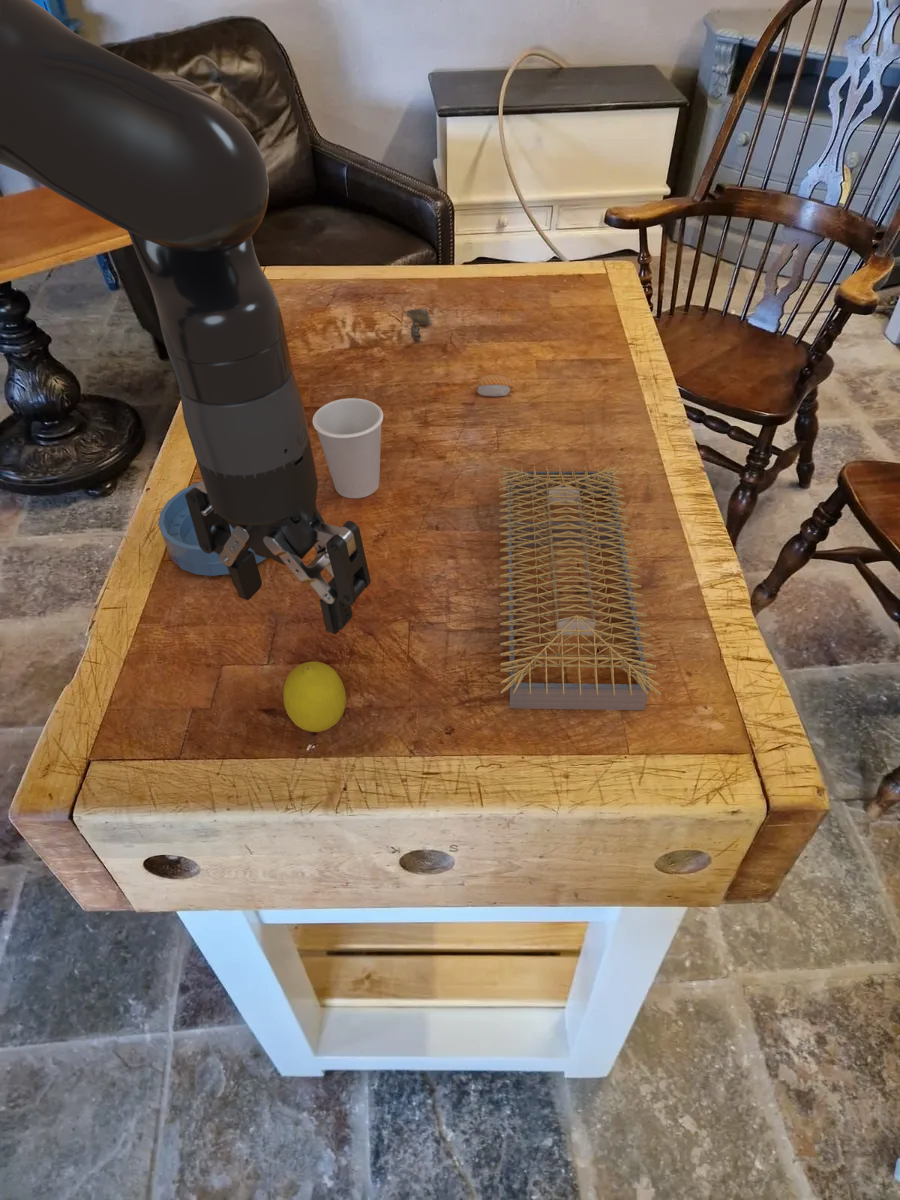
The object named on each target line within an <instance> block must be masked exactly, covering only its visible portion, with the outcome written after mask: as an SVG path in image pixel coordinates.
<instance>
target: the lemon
mask: <svg viewBox="0 0 900 1200" xmlns="http://www.w3.org/2000/svg"><path fill="white" fill-rule="evenodd" d="M282 696H283V697H282V698H283V699H282V700H283V706H284V709H285V711H286V714H287V715H288V716H287V717H289V719H290V720H291V721H292V723H294V725H295V726H296V727H298V728H300V729H301V730H304V731H306V732H311V733H320V732H324V731H327V730H329V729H331V728H332V727H334V726H335V725H336V724H337V723H338V722H339V721H340V720H341V718H342V717H343V715H344V712H345V709H346V705H347V694H346V689H345V686H344V683H343V681H342V679H341V677H340V676H339V674H338V673H337V672H336V670H335V669H334V668H332V667H331V666H330V665H328V664H327V663H324V662H323V661H322V662H321V661H314V660H313V661H306V662H302V663H300V664H298V665H297V666H296V667H294V668H293V669H291V671H290V672H289V673H288V675H287V677H286V679H285V682H284V686H283V690H282Z"/></svg>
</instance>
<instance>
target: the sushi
mask: <svg viewBox="0 0 900 1200" xmlns="http://www.w3.org/2000/svg"><path fill="white" fill-rule="evenodd" d="M515 387H516V385H515V383H514V381H513V380H512V379H511V378H509V377H508V376H505V375H503V374H495V373H493V374H492V373H491V374H484V375H483V376H479V378H478V379H477V381H476V382H475V383H474V384H472V385H470V387H469V388H470V390H473V389H476V392H477V394H478V395H480V396H482V397H483V396H484V397H506V396H508V395H509V394H510V393H511V388H512V389H513V388H515Z"/></svg>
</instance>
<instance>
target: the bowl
mask: <svg viewBox="0 0 900 1200" xmlns="http://www.w3.org/2000/svg"><path fill="white" fill-rule="evenodd" d="M200 482H201V481H199V482H196V483H195V482H194V483H193V484H191V485H189V486H187V487H185V488H183V489H181V490H179V491H178V492H177V493H176V494H174V496H171V498H170V499H168V501H167V502H166V503H165V505H164V506H163V507H162V509H161V510H160V513H159V517H158V522H157V523H158V524H157V525H158V527H159V530H160V533H161V536H162V538H163V541H164V544H165V547H166V549H167V552H168V555H169V557H170V560H171V561H172V562H173V563H174V564H175V565H177V566H178V568H180V569H181V570H184V571H186V572H188V573H191V574H193V575H199V576H209V577H216V576H225V575H226V576H227V575H230V573H229V570H228V567H227V566H226V565H224V564H223V563H222V562H221V561H220V559H219V554H217V553H216V552H214V551H213V552H212V553H210V554H208V553H206V552H204V551H203V550H202V549H201V548H200V546H199V543H198V539H197V536H196V532H195V529H194V525H193V522H192V518H191V515H190V511H189V508H188V504H187V501H186V498H185V495H186V493H188V492H189V491H190V490H191V489H192V488H194V487H195V486H196V485H197V484H198V483H200ZM229 526H230V530H231V535H232V532H233V530H234V529H233V528H232V527H231V525H230V524H229ZM214 528H215V527H214V525H213V526H212V528H211V531H212V530H213V529H214ZM248 550H249V551H252V552H254V551H253V550H252V549H251V548H249V549H248ZM254 556H255V559H256V563H257V565H258V564H260V563H261V562H263V561H265V560H266V559H267V558H266V557H261V556H258V555H256V554H255V552H254Z"/></svg>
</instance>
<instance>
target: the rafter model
mask: <svg viewBox="0 0 900 1200" xmlns="http://www.w3.org/2000/svg"><path fill="white" fill-rule="evenodd" d="M499 468H500V469H501V470H500V471H499V474H501V475H505V476H504V477H501V478H499V485H506V486H503V487H500V488H499V491H505V492H506V493H503V494H500V495H499V498H506V500H503V501H500V502H499V505H506V507H505V508H501V509H499V512H500V513H501V512H502V513H506V515H504V516H500V517H499V520H506V522H505V523H503V524H499V528H506V531H502V532H499V535H500V536H506V539H502V540H499V543H500V544H506V547H504V548H500V549H499V552H506V556H502V557H500V558H499V561H506V562H507V563H506V564H504V565H501V566H499V569H500V570H501V569H502V570H506V569H507V573H505V574H500V575H499V578H507V582H503V583H501V584H499V588H500V587H501V588H503V587H505V588H506V587H507V591H506V592H502V593H500V594H499V596H500V597H507V601H504V602H500V604H499V606H507V610H506V611H503V612H500V613H499V614H500V616H507V621H503V622H500V623H499V625H500V626H507V627H508V630H507V631H504V632H500V633H499V636H508V637H507V638H508V641H504V642H500V646H508V651H505V652H501V653H500V656H502V657H503V656H505V657H507V656H508V661H506V662H501V663H500V667H505V668H501V669H500V672H508V676H507V678H505V679H503V680H502V681H500V684H501V685H502V684H505V683H508V684H507V685H506V686H505V687H504V688H503V689H502V690H501V691H500V695H502V694H503V693H504V692H506V691H507V690H508V693H509V694H508V695H509V696H508V697H509V700H508V701H509V709H530V710H531V709H532V710H535V709H536V710H537V709H538V710H541V709H542V710H597V711H600V710H601V711H602V710H603V711H605V710H606V711H608V710H609V711H617V710H618V711H645V710H646V705H647V701H648V698H649V693H650V690H651V691H652V692H654V693H655V694H657V695H658V696H660V697H661V696H662V693H661V692H660V691H659V690H658V689H657V688H656V687H655V686H657V687H659V686H660V683H659V682H658V681H656V680H654V679H652V678H650V677H649V676H648V674H658V671H657V670H655V669H656V668H657V664H654V663H649V662H646V659H645V658H655V655H654V654H651V653H647V652H644V648H652V647H653V644H651V643H646V642H643V641H642V638H651V634H649V633H646V632H642V631H641V630H640V627H649V624H648V623H644V622H641V621H639V618H638V617H647V614H646V613H643V612H640V611H637V607H644V608H645V607H646V606H645V605H646V604H645V603H641V602H638V601H635V598H643V597H644V594H642V593H638V592H634V590H633V588H640V589H641V588H642V585H641V584H637V583H634V582H632V579H640V576H639V575H636V574H632V573H630V570H638V569H639V567H638V566H634V565H631V564H629V561H631V562H635V561H637V558H636V557H632V556H628V555H627V553H635V549H632V548H629V547H626V545H627V544H628V545H633V544H634V541H631V540H629V539H625V538H624V536H629V537H630V536H632V535H633V534H632V533H631V532H628V531H624V530H623V528H631V525H629V524H626V523H624V522H622V521H623V520H625V521H629V517H627V516H625V515H622V514H621V515H620V513H628V509H625V508H622V507H619V505H626V504H627V502H625V501H623V500H618V498H625V494H621V493H618V492H619V491H622V492H623V491H624V488H622V487H619V486H616V485H622V484H623V481H622V477H621V478H620V477H617V476H615V475H618V474H621V471H620V470H618V469H619V468H620V465H616V466H614V467H610V465H607V467H605V469H603V470H601V471H600V469H599V467H598V465H596V466H595V468H596V471H592V470H591V471H589V470H588V471H587V469H586V467H585V465H583V470H582V471H574V468H573V465H570V470H571V471H562V470H561V467H560V465H558V471H549V469H548V465H546V466H545V470H546V471H536V467H535V466H533V471H523V465H520V470H518V469H516V468H515V467H513V466H511V465H508V467H506V466H502V465H499ZM616 491H617V492H616ZM522 498H531V500H530V501H529V500H525V499H524V500H523V499H522ZM534 498H536V499H534ZM591 498H592V499H591ZM595 498H604V499H603V500H595ZM545 499H546V500H545ZM515 501H518V502H515ZM538 501H541V502H538ZM584 501H590V502H584ZM511 505H512V506H511ZM524 505H532V508H527V507H522V506H524ZM534 505H537V506H534ZM591 505H593V506H591ZM596 505H603V506H605V507H601V508H597V507H596ZM551 506H563V507H561V508H557V509H551ZM568 506H569V507H568ZM570 506H577V509H576V508H572V507H570ZM516 508H517V509H516ZM541 508H542V509H541ZM586 508H589V509H586ZM591 509H592V510H591ZM523 513H532V515H531V516H529V515H524V514H523ZM535 513H538V514H535ZM592 513H594V514H592ZM597 513H606V514H605V515H600V516H599V515H597ZM551 514H564V515H561V516H557V517H552V516H551ZM569 514H570V515H569ZM571 514H578V517H577V516H574V515H571ZM546 515H547V516H546ZM516 516H519V517H516ZM540 516H543V517H540ZM586 516H590V517H586ZM512 520H513V521H512ZM526 520H532V521H526ZM535 520H537V521H535ZM594 520H595V522H594ZM598 520H600V522H599V521H598ZM601 520H602V521H601ZM621 520H622V521H621ZM605 521H606V522H605ZM555 547H556V548H558V547H559V548H566V549H554V548H555ZM516 548H519V549H516ZM575 548H582V549H575ZM591 548H592V549H591ZM513 552H516V553H513ZM530 552H532V553H533V552H534V557H533V556H528V555H523V554H526V553H530ZM545 552H546V553H547V552H550V553H547V554H545ZM537 553H539V554H541V555H539V556H537ZM598 553H600V555H596V554H598ZM602 553H609V554H613V555H611V556H606V557H605V556H604V557H603V556H602ZM556 555H575V556H576V555H579V556H580V555H581V556H582V555H583V558H576V557H572V556H570V557H566V558H565V557H564V558H563V557H562V558H560V557H559V558H558V557H557V558H555V556H556ZM591 557H594V558H591ZM513 561H516V562H513ZM529 561H535V565H530V564H524V563H525V562H529ZM538 561H539V562H540V563H542V564H539V565H537V564H538ZM544 561H551V562H544ZM590 561H594V562H590ZM600 561H601V563H600V564H597V563H598V562H600ZM604 561H607V562H611V563H614V564H610V565H605V566H604ZM556 564H584V566H574V565H573V566H572V565H571V566H566V567H565V566H555V565H556ZM517 565H519V566H517ZM516 569H517V570H516ZM513 570H515V571H513ZM530 570H535V574H530V573H525V572H526V571H530ZM538 570H540V571H541V572H543V573H540V574H538ZM545 570H551V571H545ZM591 570H596V571H591ZM601 570H602V573H598V572H599V571H601ZM605 570H609V571H613V572H617V573H612V574H607V575H605ZM557 573H577V574H579V573H581V574H582V573H583V574H584V573H585V575H556V574H557ZM517 574H520V575H517ZM515 578H516V579H517V578H520V579H517V580H513V579H515ZM535 578H536V583H531V582H525V581H527V580H530V579H535ZM539 579H540V580H541V581H543V582H542V583H538V582H539ZM546 579H552V580H550V581H547V580H546ZM591 579H597V580H595V581H594V580H591ZM606 579H609V580H613V581H617V582H613V583H608V584H606ZM601 580H603V583H602V582H599V581H601ZM517 583H519V584H517ZM520 583H521V584H520ZM557 583H586V585H585V584H582V585H581V584H580V585H579V584H557ZM515 587H516V588H518V587H519V588H518V589H514V588H515ZM532 588H536V593H535V592H531V591H530V592H529V591H524V590H528V589H532ZM546 588H553V589H552V590H548V589H546ZM572 588H577V589H572ZM592 588H598V589H597V590H593V589H592ZM608 588H610V589H614V590H617V591H618V592H612V593H611V592H610V593H607V591H608ZM539 589H542V590H543V591H544V592H541V593H539ZM603 589H605V590H604V592H601V590H603ZM559 592H587V594H566V593H565V594H564V593H563V594H562V593H561V594H559ZM514 597H520V598H516V599H514ZM534 597H537V601H536V602H532V601H526V599H527V600H528V599H531V598H534ZM546 597H553V599H552V600H549V599H547V598H546ZM558 597H560V598H558ZM593 597H596V598H598V597H599V598H598V599H597V600H596V599H593ZM609 597H610V598H614V599H617V600H621V601H617V602H611V603H609ZM540 598H541V599H544V600H545V601H544V602H541V603H540ZM571 598H578V599H571ZM604 599H606V602H603V600H604ZM517 602H518V603H517ZM519 602H521V603H519ZM558 602H588V603H558ZM596 603H597V604H596ZM514 606H523V607H519V608H515V609H514ZM534 607H537V612H534V611H529V610H526V609H530V608H534ZM540 607H541V608H542V609H544V610H545V612H541V613H540ZM547 607H554V609H553V610H550V609H548V608H547ZM559 607H561V608H559ZM594 607H602V608H600V609H597V610H596V609H594ZM572 608H580V609H572ZM606 608H608V609H607V612H604V611H603V610H604V609H606ZM610 608H615V609H619V610H622V611H617V612H611V613H610ZM519 612H520V613H519ZM521 612H523V613H521ZM559 612H589V613H559ZM514 616H524V617H520V618H515V619H514ZM545 616H548V617H550V616H552V617H553V616H555V618H554V619H555V620H551V619H549V618H547V617H545ZM559 616H560V617H561V616H562V617H563V618H560V619H559ZM565 616H566V617H565ZM535 617H538V619H537V620H538V621H537V622H534V621H529V620H526V619H531V618H535ZM589 617H590V618H589ZM595 617H603V618H602V619H600V620H597V619H596V618H595ZM612 617H613V618H616V619H621V620H624V621H619V622H618V621H617V622H614V623H613V622H612V623H611V621H612ZM541 618H543V619H545V620H546V621H547V622H543V623H540V619H541ZM608 618H609V620H608V622H604V620H606V619H608ZM518 622H519V623H518ZM520 622H522V623H520ZM523 622H524V623H523ZM515 626H525V627H521V628H516V629H515V628H514V627H515ZM546 626H550V627H551V626H553V627H554V626H555V627H556V629H555V630H550V629H549V628H547V627H546ZM536 627H538V632H534V631H528V629H532V628H536ZM596 627H605V628H603V629H601V630H598V629H596ZM541 628H543V629H545V630H546V631H547V632H542V633H541ZM614 628H617V629H620V630H624V631H623V632H615V633H613V629H614ZM608 629H610V632H609V633H608V632H605V631H606V630H608ZM519 632H521V633H519ZM515 636H517V637H519V636H524V637H522V638H518V639H515ZM536 637H539V643H538V642H533V641H527V640H529V639H532V638H533V639H534V638H536ZM548 637H554V638H553V639H552V640H551V639H550V638H548ZM560 637H561V638H560ZM563 637H565V639H563ZM572 637H577V643H564V642H566V641H567V640H569V639H570V638H572ZM579 637H583V639H585V640H586V641H587V642H588V643H580V638H579ZM587 637H593V642H592V641H591V640H590V639H588V638H587ZM603 637H607V638H604V639H603ZM627 637H628V638H627ZM542 638H544V639H545V640H547V641H549V642H545V643H542ZM596 638H598V639H599V640H601V641H599V642H598V641H597V642H596ZM611 638H612V639H611ZM615 638H618V639H622V640H625V642H619V643H614V641H615ZM556 639H557V642H555V641H556ZM560 639H561V641H560ZM609 639H610V640H611V643H609V642H607V640H609ZM519 642H521V643H519ZM515 646H516V647H517V646H518V647H519V646H527V647H523V648H519V649H515ZM540 647H544V648H543V649H542V650H541V651H540V652H536V651H531V650H530V649H534V648H540ZM551 647H558V651H557V652H556V651H555V650H554V649H553V648H551ZM564 647H570V648H568V649H567V650H566V649H565V650H564ZM585 647H594V653H593V652H592V651H590V650H588V649H587V648H585ZM598 647H604V648H603V649H602V650H600V651H599V652H597V651H598ZM614 647H615V648H618V649H622V650H626V651H624V652H617V651H616V650H615V649H614ZM547 648H548V649H549V650H550V651H551V652H553V653H554V654H553V653H552V654H549V653H548V654H547ZM575 648H577V653H578V654H565V653H567V652H569V651H571V650H574V649H575ZM580 648H581V649H582V650H584V651H585V652H587V653H588V654H580ZM608 649H609V650H608ZM560 650H561V651H560ZM606 650H608V654H601V653H603V652H604V651H606ZM520 652H525V653H520ZM625 654H626V655H625ZM628 654H629V655H628ZM515 657H523V658H518V659H515ZM529 660H531V661H530V662H529ZM541 660H544V662H542V661H541ZM555 660H558V662H557V661H555ZM564 660H567V661H565V662H564ZM588 660H589V661H588ZM591 660H592V661H594V662H591ZM599 661H601V662H600V663H599ZM614 661H616V662H614ZM628 661H629V662H628ZM536 662H537V663H536ZM548 662H551V663H548ZM574 662H577V664H575V663H574ZM581 662H584V663H586V664H581ZM608 662H610V664H606V663H608ZM571 663H574V664H571ZM620 663H621V664H620ZM537 667H539V668H540V667H541V668H543V667H544V673H545V682H531V681H532V680H531V679H532V678H531V672H532V671H533V670H534V669H535V668H537ZM548 667H551V668H560V669H561V670H560V671H561V683H560V682H559V683H558V682H557V683H555V682H548ZM564 668H577V676H578V683H568V682H567V683H566V682H565V678H564V677H565V676H564V675H565V674H564ZM581 668H593V673H594V682H595V683H581ZM597 668H609V671H610V676H611V677H610V678H611V683H598V672H597V671H598V669H597ZM614 668H618V669H621V670H623V671H624V672H625V673H626V674H627V682H628V683H615V675H614V674H615V673H614ZM527 675H528V682H522V681H523V679H524V678H525V676H527ZM631 677H632V678H633V679H634V681H635V684H634V683H632V679H631ZM654 685H655V686H654Z"/></svg>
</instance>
